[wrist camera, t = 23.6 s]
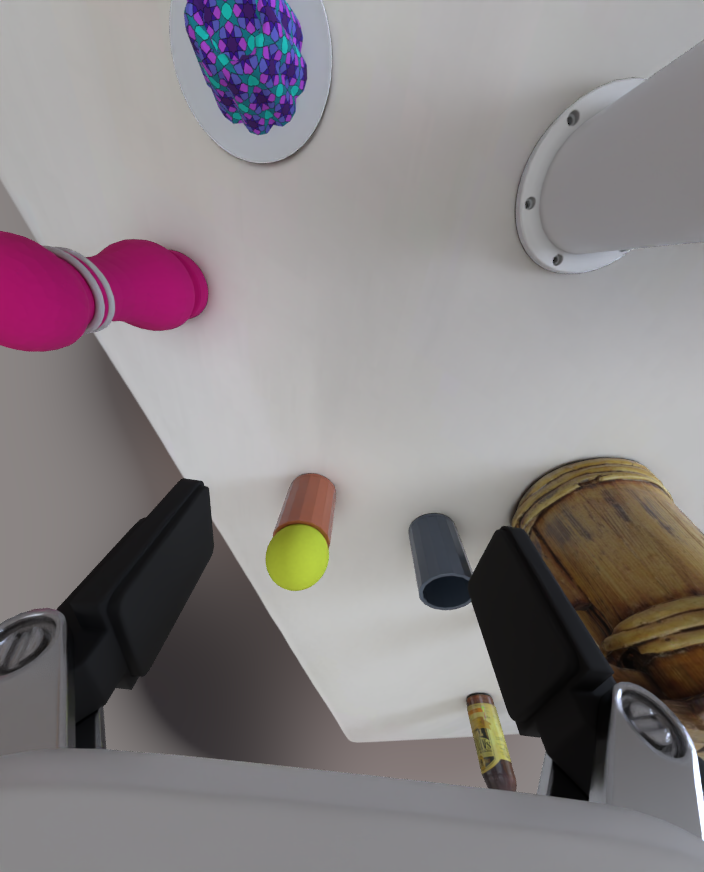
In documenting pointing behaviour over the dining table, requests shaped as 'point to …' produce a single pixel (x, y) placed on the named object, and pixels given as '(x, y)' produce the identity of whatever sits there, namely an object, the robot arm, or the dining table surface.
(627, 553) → the tankard
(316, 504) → the terracotta cup
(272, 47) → the pudding
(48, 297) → the pepper mill
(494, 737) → the sauce bottle
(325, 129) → the dining table surface
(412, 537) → the grey cup
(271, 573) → the ball
